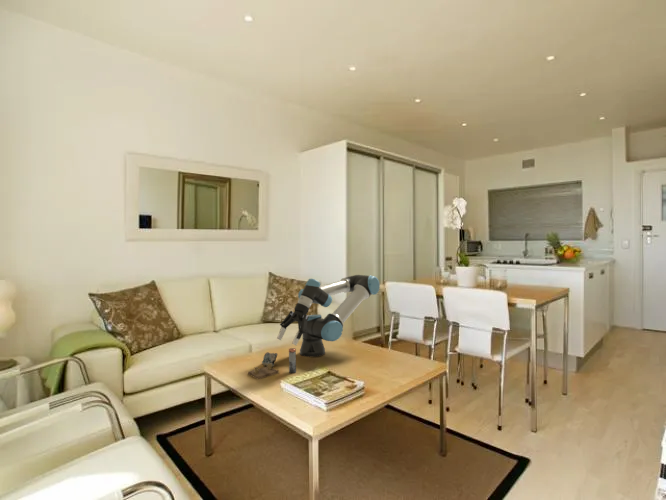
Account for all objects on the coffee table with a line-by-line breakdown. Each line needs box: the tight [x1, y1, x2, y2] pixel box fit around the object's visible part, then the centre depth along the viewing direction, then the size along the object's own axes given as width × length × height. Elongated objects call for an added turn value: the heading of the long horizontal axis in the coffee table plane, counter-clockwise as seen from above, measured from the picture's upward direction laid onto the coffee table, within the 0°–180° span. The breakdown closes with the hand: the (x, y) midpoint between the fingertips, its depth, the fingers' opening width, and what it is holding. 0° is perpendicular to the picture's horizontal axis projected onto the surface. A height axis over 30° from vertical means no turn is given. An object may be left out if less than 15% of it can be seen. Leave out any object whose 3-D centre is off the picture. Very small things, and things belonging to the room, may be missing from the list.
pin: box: [288, 347, 297, 374], centre depth 195 cm, size 4×4×12 cm
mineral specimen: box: [261, 352, 278, 367], centre depth 207 cm, size 10×8×10 cm
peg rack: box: [247, 363, 280, 380], centre depth 193 cm, size 12×10×4 cm
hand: (286, 341), depth 198 cm, fingers open, 13 cm apart
